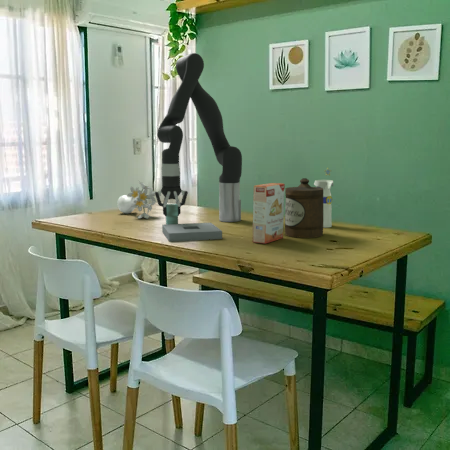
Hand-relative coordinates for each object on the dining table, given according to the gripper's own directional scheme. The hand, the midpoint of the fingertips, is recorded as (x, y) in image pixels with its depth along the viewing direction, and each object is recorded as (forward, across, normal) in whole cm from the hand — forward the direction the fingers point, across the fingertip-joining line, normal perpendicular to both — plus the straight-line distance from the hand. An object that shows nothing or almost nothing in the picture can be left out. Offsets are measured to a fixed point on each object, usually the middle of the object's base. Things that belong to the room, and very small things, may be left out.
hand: (171, 215), depth 231 cm
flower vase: (+6, +12, -39) cm, 41 cm away
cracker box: (+6, -31, +35) cm, 47 cm away
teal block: (+4, 0, 0) cm, 4 cm away
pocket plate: (+5, -5, +18) cm, 19 cm away
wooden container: (+6, -48, +27) cm, 55 cm away
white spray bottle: (+6, -63, +11) cm, 64 cm away
